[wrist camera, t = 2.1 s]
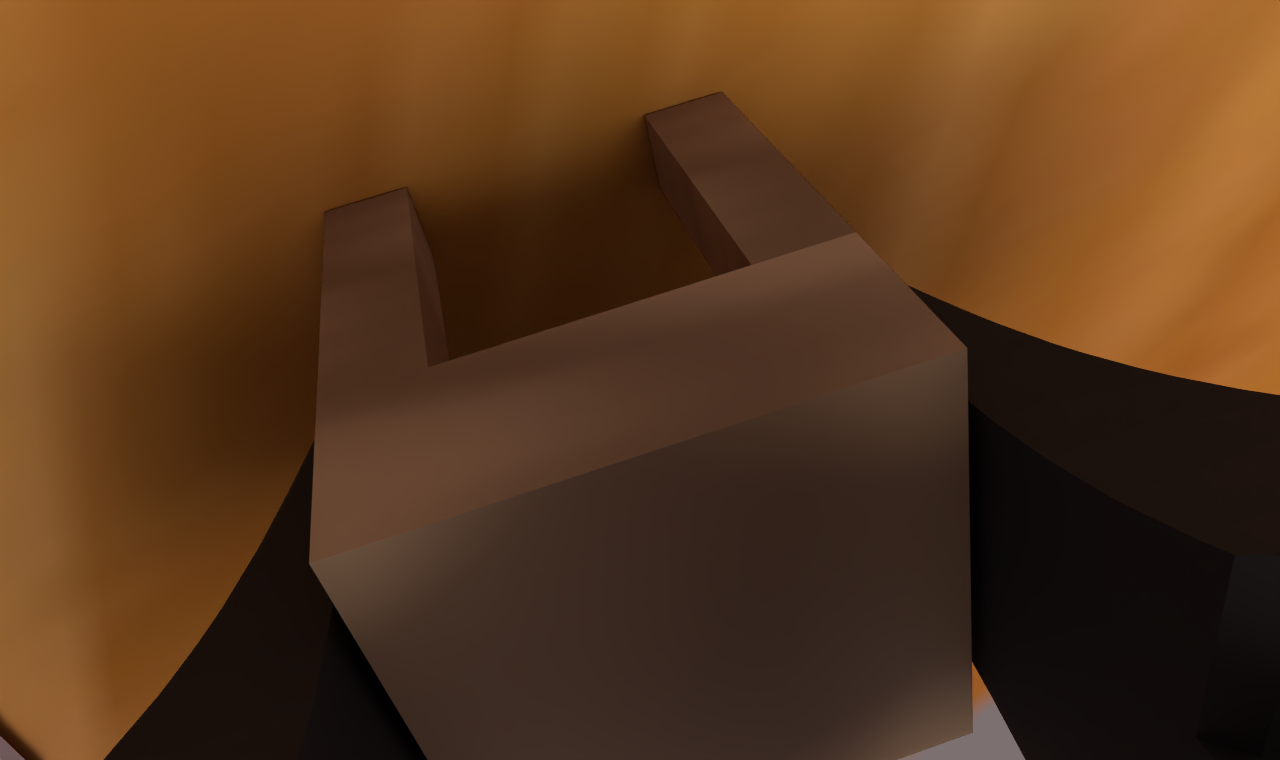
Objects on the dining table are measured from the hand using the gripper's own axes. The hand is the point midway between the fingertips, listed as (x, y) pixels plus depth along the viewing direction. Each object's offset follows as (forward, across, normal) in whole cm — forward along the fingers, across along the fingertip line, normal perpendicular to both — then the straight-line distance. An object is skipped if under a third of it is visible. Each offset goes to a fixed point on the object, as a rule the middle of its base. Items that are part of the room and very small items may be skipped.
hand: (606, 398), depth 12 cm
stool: (+2, 0, 0) cm, 2 cm away
